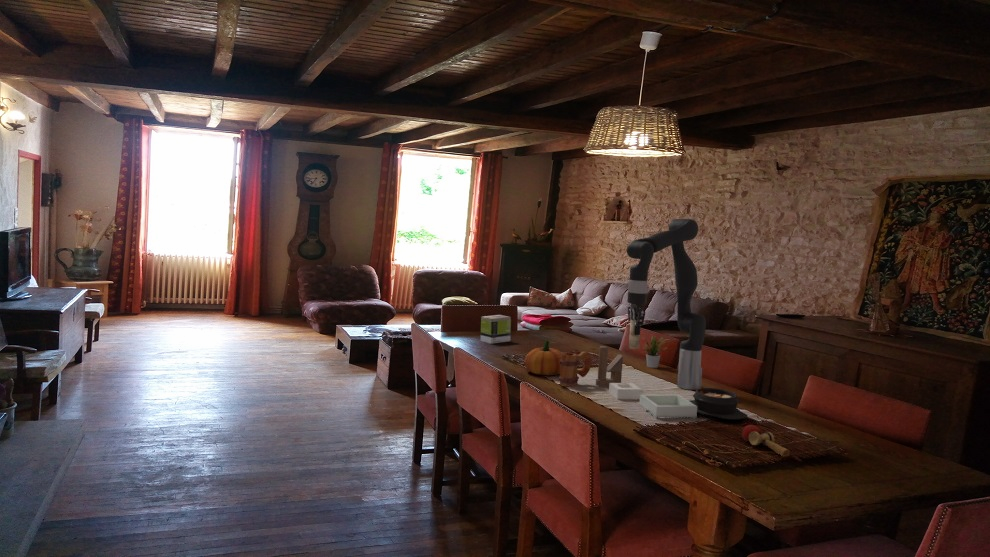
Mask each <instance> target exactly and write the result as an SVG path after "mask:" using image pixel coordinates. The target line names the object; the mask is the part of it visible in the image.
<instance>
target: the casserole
mask: <svg viewBox="0 0 990 557" xmlns="http://www.w3.org/2000/svg"><path fill="white" fill-rule="evenodd" d="M692 397H693V400H688V401H689V402H691V403H693V404H694V405H696V406H697V413H698V414H700V415H703V416H705V417H708V416H709V417H708V418H713V417H714V418H713V419H724V420H734V421H735V420H743V419H746V418H748V414H747V413H745V412H743V411H741V410H740V409H738V408H737V407H738V404H740V400H739V398H738V395H737V393H735V392H733V391H729V390H726V389H723V388H715V387H703V388H702V387H701V389H695V392H694V393H693V394H692Z"/></svg>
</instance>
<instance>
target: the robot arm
mask: <svg viewBox="0 0 990 557" xmlns="http://www.w3.org/2000/svg"><path fill="white" fill-rule="evenodd" d="M698 233H699V224H698V223H697V221H696V220H695V219H693V218H674V219H671V221H670V222H669V225H668V230H663V231H660V232H659V231H658V232H656V233H654V234H652V235H649V236H647V237H643V238H639V239H638V238H637V239H634V240H633V241H631V242H629V243H628V245H627V247H626V255H627V256H628V257H629V258H631V259H636V260H639V262H638V264H633V265H631V266H630V269H629V278H628V279H629V280H628V288H627V303H628V304H630V306H627V320H628V322H630V321H631V320H635V327H634V335H640V336H641V327H642V326H643V325H644V323H645V318H646V317H645V316H646V311H645V310H644V309H643V308H644V307H643V305H647V301H648V300H647V299H648V289H649V288H648V275H649V270H650V266H651V264H652V259H653V257H654V254H655V253H658V252H660V251H662V250H664V249H666V248H668V247H671V252H672V258H673V266H674V280H675V286H676V287H675V288H676V289H675V290H676V300H677V308H676V309H677V310H676V312H677V316H676V318H677V326H678V330H680V332H682V333H685V334H689V337H688V339H687V340H682V341H680V343H679V356H678V371H677V380H676V381H677V385H676V386H677V387H678V388H680V389H684V390H692V391H693V390H694V391H696V390H697V389H701V388H702V378H703V377H702V376H703V375H702V374H703V367H702V366H701V365H702V363H701V362H702V350H703V346H704V343H705V334H706V327H707V323H706V322H707V321H706V318H705V316H704V314H700V313H695V312H692V309H691V308H692V307H691V301H692V297H693V295H694V294H695V292H696V290H697V287H698V282H699V281H698V272H697V271H698V270H697V267H696V265H695V263H694V262H693V260H692V259H691V257H690V256H689V255H688V253H687V252H686V249H685V244H684V242H688V241H692V240H694V239H695V238H696V237H697V235H698Z"/></svg>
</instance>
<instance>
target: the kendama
mask: <svg viewBox="0 0 990 557" xmlns="http://www.w3.org/2000/svg"><path fill="white" fill-rule="evenodd" d="M741 436H742V439H744V441H745V440H746V442H747V441H749V442H750V443H749V442H748V443H749V444H751V445H752V446H758V445H760V444H762V443H763V444H764V445H767V446H768V447H767V448H769V449H770V450H772V451H773V452H775V453H776V454H778V455H779V454H780V455H781V456H780V455H779V456H780V457H782V456H783V457H784V456H788V457H789V456H790V454H791V451H790V450H789V449H788V448H786V447H783V446H781V445H780V444H778V443H776V442H775V436H774V434H773V432H770V431H763V433H762V432H761V429H760V428H759V427H758V426H756V425H754V424H748V425H745V426H744V427H743V429H742V432H741ZM763 444H762V445H763ZM764 445H763V446H764ZM783 457H782V458H783Z"/></svg>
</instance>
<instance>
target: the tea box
mask: <svg viewBox="0 0 990 557" xmlns="http://www.w3.org/2000/svg"><path fill="white" fill-rule="evenodd" d="M511 324H512V317H511V316H509V315H507V316H506V315H502V314H494V315H487V316H486V315H484V316H481V317H480V342H483V343H486V344H489V345H491V344H492V345H493V344H499V343H507V342H511V337H512V336H511V335H512V334H511V331H512V329H511V328H512V327H511V326H512V325H511Z"/></svg>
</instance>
